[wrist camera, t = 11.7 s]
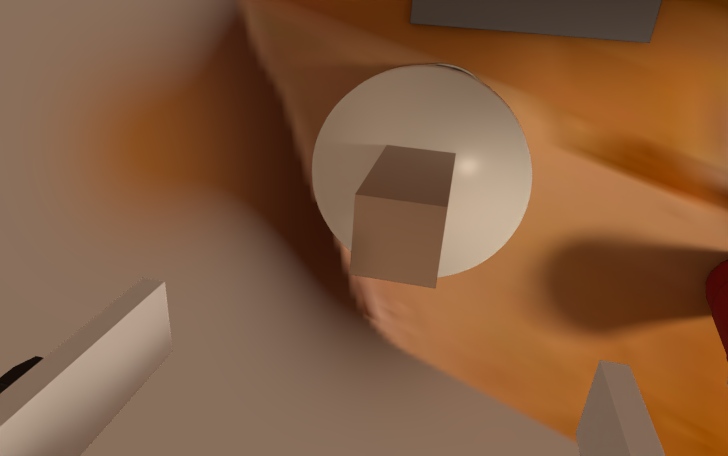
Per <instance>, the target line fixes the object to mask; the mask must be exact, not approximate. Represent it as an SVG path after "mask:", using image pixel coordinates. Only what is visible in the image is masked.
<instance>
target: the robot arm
mask: <svg viewBox="0 0 728 456" xmlns="http://www.w3.org/2000/svg"><path fill="white" fill-rule="evenodd" d="M172 351H173V350H172V341H171V333H170V324H169V315H168V306H167V298H166V289H165V282H164V281H159V280H153V279H148V278H142V279H140V281H138V282H137V283H136V284H134V285H133V286H132V287H131V288H129V289H128V290H127V291H126V292H125V293H123V294H122V295H121V296H120V297H118V298H117V299H116V300H115V301H113V302H112V303H111V304H110V305H109V306H107V307H106V308H105V309H104V310H102V311H101V312H100V313H99V314H98V315H96V316H95V317H94V318H93V319H91V320H90V321H89V322H88V323H87V324H85V325H84V326H83V327H82V328H80V329H79V330H78V331H77V332H75V333H74V334H73V335H72V336H71V337H69V338H68V339H67V340H66V341H64V342H63V343H62V344H61V345H60V346H58V347H57V348H56V349H55V350H53V351H52V352H51V353H50V354H48V355H47V356H46V357H45V358H42V357H37V356H35V357H33V358H32V359H30V360H27V361H25V362H23V363H21V364H19V365H17V366H15V367H13V368H12V369H11V370H10V371H8V372H7V373H5V374H4V375H3V376H2V377H1V378H0V456H80V455H81V454H82V453H83V452H84V451H85V450H86V449H87V448H88V446H89V445H90V444H91V443H92V442H93V441H94V439H95V438H96V437H97V436H98V435H99V434H100V433H101V432H102V431H103V429H104V428H105V427H106V426H107V425H108V424H109V423H110V422H111V420H112V419H113V418H114V417H115V416H116V415H117V414H118V413H119V411H120V410H121V409H122V408H123V407H124V406H125V404H126V403H127V402H128V401H129V400H130V399H131V397H133V395H134V394H135V393H136V392H137V391H138V390H139V388H141V387H142V385H143V384H144V383H145V382H146V381H147V380H148V379H149V377H150V376H151V375H152V374H153V373H154V372H155V371H156V370H157V368H158V367H159V366H160V365H161V364H162V363H163V362H164V361H165V359H166V358H167V357H168V356H169V355H170V354H171V353H172ZM576 438H577V442H578V447H579V452H580V456H665V454H664V451H663V449H662V446H661V444H660V441H659V438H658V436H657V433H656V431H655V428H654V426H653V423H652V421H651V418H650V416H649V413H648V411H647V408H646V406H645V403H644V401H643V398H642V396H641V393H640V391H639V388H638V386H637V383H636V381H635V378H634V376H633V373H632V371H631V368H630V366H629V365H625V364H620V363H614V362H609V361H603V360H600V361H599V364H598V367H597V370H596V373H595V376H594V379H593V382H592V385H591V388H590V391H589V394H588V397H587V401H586V404H585V407H584V410H583V413H582V416H581V419H580V422H579V425H578V428H577V431H576Z"/></svg>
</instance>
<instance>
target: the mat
mask: <svg viewBox="0 0 728 456" xmlns="http://www.w3.org/2000/svg"><path fill="white" fill-rule="evenodd" d="M661 1H662V0H412V10H411V20H410V23H413V24H425V25H437V26H449V27H461V28H474V29H486V30H498V31H510V32H522V33H534V34H547V35H559V36H571V37H583V38H595V39H608V40H620V41H632V42H644V43H650V40H651V36H652V33H653V29H654V26H655V22H656V19H657V15H658V12H659V8H660V5H661Z"/></svg>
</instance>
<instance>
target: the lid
mask: <svg viewBox="0 0 728 456" xmlns="http://www.w3.org/2000/svg"><path fill="white" fill-rule="evenodd" d="M312 182H313V188H314V194H315V197H316V200H317V204H318V207H319V209H320V211H321V213H322V216H323V218H324V220H325V221H326V223H327V225H328V226H329V228H330V230H331V231H332V232H333V233H334V235H335V236H336V237H337V239H338V240H339V241H340V242H341V243H342V244H343V245H344V246H345V247H346V248H347V249H348V250H350V251H351V263H350V275H356V276H362V277H368V278H374V279H381V280H387V281H393V282H399V283H405V284H411V285H417V286H423V287H429V288H435V289H436V282H437V277H443V276H448V275H452V274H456V273H460V272H462V271H465V270H468V269H470V268H472V267H474V266H476V265H478V264H480V263H482V262H484V261H485V260H486V259H488V258H489V257H491V256H492V255H493V254H495V253H496V252H497V251H498V250H499V249H500V248H501V247H502V246H503V245H504V244H505V243H506V242H507V241H508V240H509V238H510V237H511V236H512V235H513V233H514V232H515V230H516V229H517V227H518V225H519V224H520V222H521V220H522V218H523V216H524V213H525V211H526V208H527V205H528V201H529V198H530V193H531V186H532V165H531V158H530V152H529V149H528V145H527V142H526V139H525V136H524V133H523V131H522V128H521V126H520V124H519V122H518V120H517V118H516V117H515V115H514V114H513V112H512V110H511V109H510V107H509V106H508V105H507V104H506V103H505V102H504V100H503V99H502V98H501V97H500V96H499V95H498V94H497V93H496V92H494V91H493V90H492V89H491V88H490V87H489V86H487V85H486V84H484V83H483V82H481V81H479V80H478V79H476V78H474V77H472V76H470V75H468V74H466V73H464V72H461V71H458V70H455V69H452V68H448V67H443V66H437V65H420V64H417V65H408V66H401V67H397V68H393V69H389V70H387V71H384V72H382V73H379V74H377V75H375V76H373V77H371V78H369V79H368V80H366V81H364V82H362V83H361V84H360V85H358V86H357V87H356V88H354V89H353V90H352V91H350V92H349V93H348V94H346V95H345V96H344V97H343V98H342V99H341V100H340V101H339V102H338V104H337V105H336V106H335V107H334V108H333V110H332V111H331V112H330V114H329V115H328V116H327V118H326V120H325V122H324V124H323V126H322V127H321V130H320V132H319V135H318V138H317V140H316V144H315V148H314V152H313V160H312Z"/></svg>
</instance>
